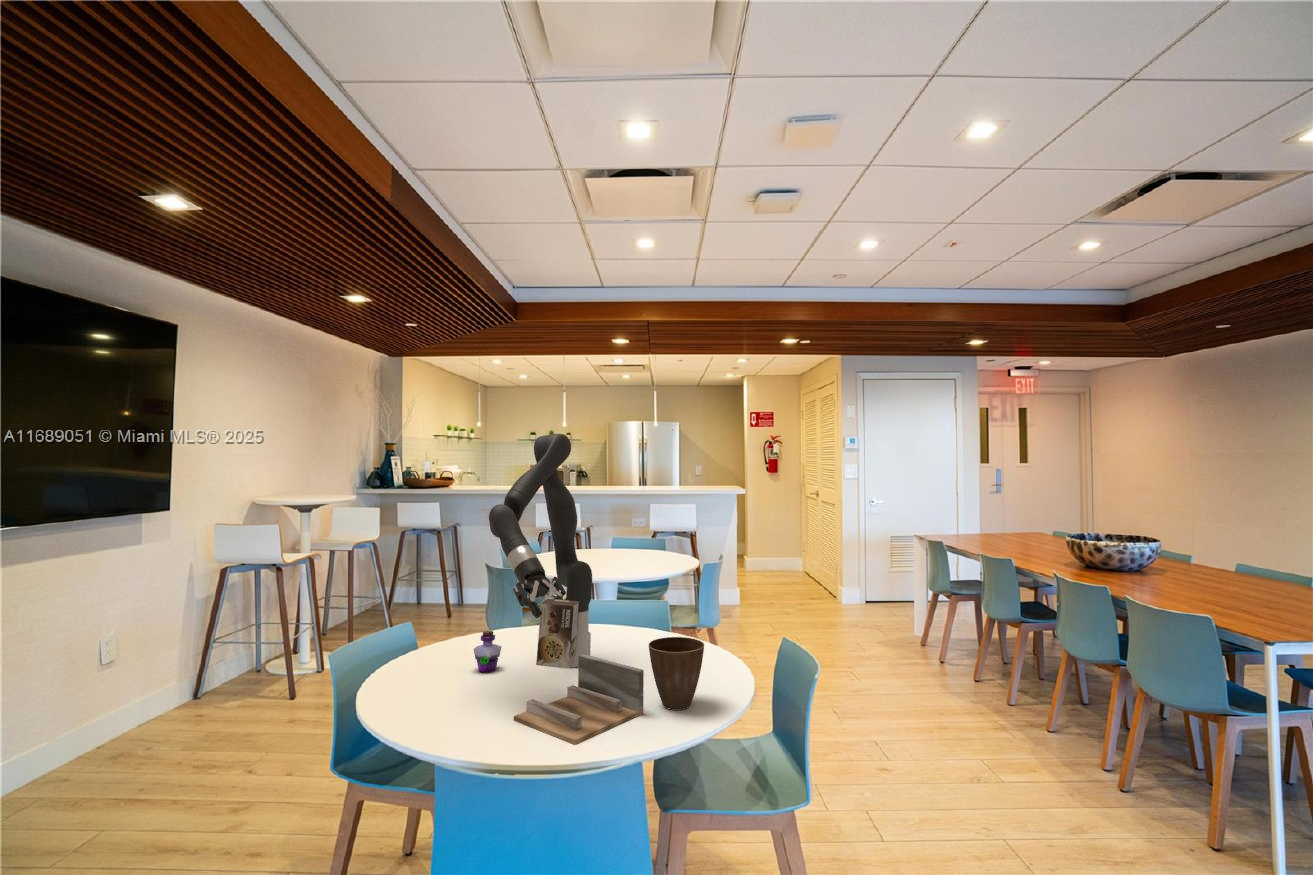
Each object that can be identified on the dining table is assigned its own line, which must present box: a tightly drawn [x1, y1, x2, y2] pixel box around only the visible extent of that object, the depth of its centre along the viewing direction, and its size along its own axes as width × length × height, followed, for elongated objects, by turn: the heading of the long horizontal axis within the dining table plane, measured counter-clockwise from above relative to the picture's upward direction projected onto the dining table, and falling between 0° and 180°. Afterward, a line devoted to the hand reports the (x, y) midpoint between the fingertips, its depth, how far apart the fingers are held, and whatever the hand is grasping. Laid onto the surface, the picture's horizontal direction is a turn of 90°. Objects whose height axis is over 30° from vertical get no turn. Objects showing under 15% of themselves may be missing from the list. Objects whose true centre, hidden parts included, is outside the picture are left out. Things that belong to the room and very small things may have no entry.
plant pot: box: [648, 636, 705, 710], centre depth 164 cm, size 15×15×16 cm
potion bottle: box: [473, 630, 502, 674], centre depth 193 cm, size 9×9×12 cm
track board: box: [513, 654, 644, 745], centre depth 155 cm, size 24×22×11 cm
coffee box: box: [535, 598, 579, 669], centre depth 161 cm, size 9×6×16 cm
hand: (552, 613), depth 162 cm, fingers closed on coffee box, 8 cm apart
